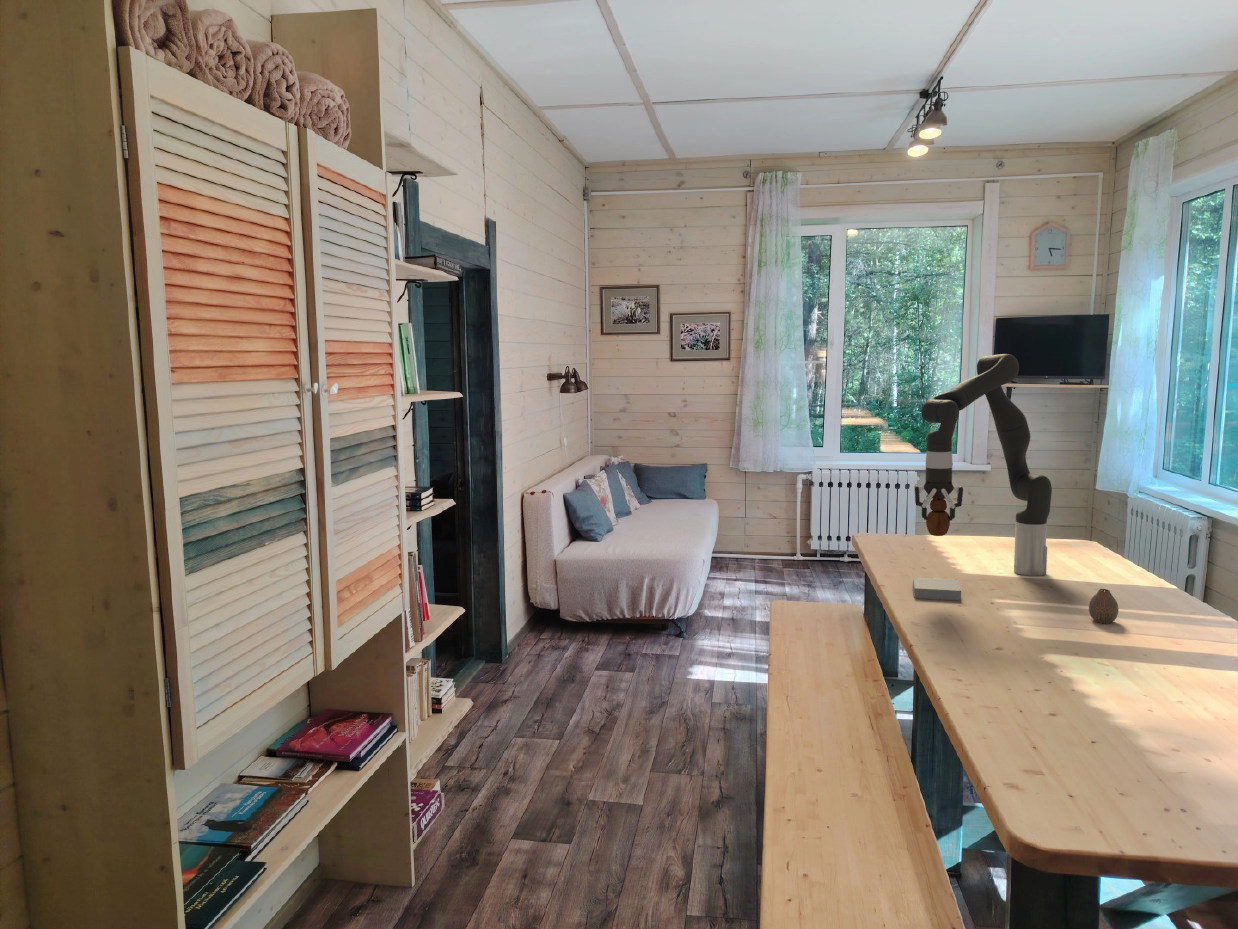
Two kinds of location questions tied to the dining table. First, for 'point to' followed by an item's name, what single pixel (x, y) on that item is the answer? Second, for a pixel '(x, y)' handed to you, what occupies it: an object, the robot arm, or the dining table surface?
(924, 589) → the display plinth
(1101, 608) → the vase
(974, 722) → the dining table surface
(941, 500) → the wooden figurine
